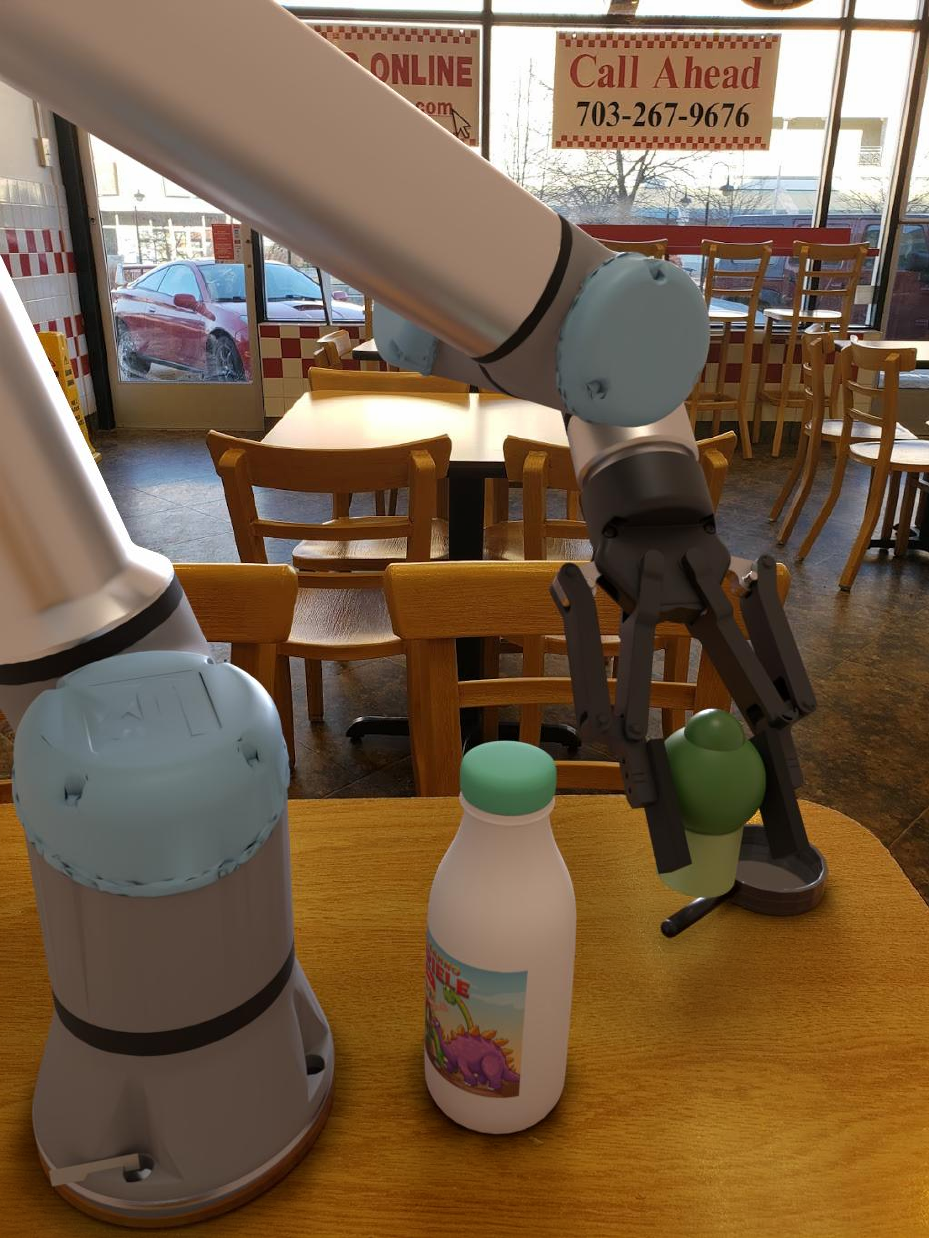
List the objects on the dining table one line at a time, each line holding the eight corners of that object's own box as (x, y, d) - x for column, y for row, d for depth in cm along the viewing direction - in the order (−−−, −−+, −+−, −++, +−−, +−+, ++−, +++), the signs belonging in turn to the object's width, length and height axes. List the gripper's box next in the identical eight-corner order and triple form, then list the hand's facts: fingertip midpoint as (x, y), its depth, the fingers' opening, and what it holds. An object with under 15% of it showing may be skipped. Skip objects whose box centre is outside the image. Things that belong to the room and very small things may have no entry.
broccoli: (619, 868, 53) (636, 707, 50) (683, 830, 57) (704, 678, 53) (706, 923, 49) (733, 751, 45) (770, 879, 53) (799, 717, 49)
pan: (682, 873, 69) (685, 850, 69) (747, 833, 74) (750, 811, 74) (782, 932, 64) (787, 908, 63) (845, 884, 69) (849, 861, 68)
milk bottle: (509, 1006, 57) (525, 709, 50) (593, 1096, 51) (625, 774, 44) (398, 1060, 53) (397, 746, 46) (475, 1165, 47) (488, 823, 40)
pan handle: (655, 934, 62) (657, 919, 61) (725, 887, 67) (727, 873, 66) (670, 944, 61) (672, 929, 61) (739, 896, 66) (742, 882, 65)
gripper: (751, 506, 63) (854, 854, 54) (477, 514, 59) (540, 894, 50) (808, 442, 56) (937, 827, 47) (504, 446, 52) (582, 870, 43)
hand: (733, 860), depth 49 cm, fingers closed on broccoli, 6 cm apart
